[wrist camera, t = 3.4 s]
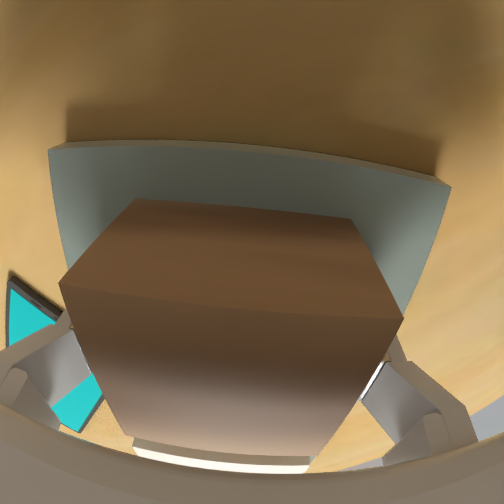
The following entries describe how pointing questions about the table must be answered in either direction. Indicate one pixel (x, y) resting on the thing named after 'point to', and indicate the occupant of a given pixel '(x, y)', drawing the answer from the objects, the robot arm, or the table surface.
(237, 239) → the walnut brick
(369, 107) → the table surface
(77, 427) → the smartphone
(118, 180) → the plate
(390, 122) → the table surface
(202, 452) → the cream brick
